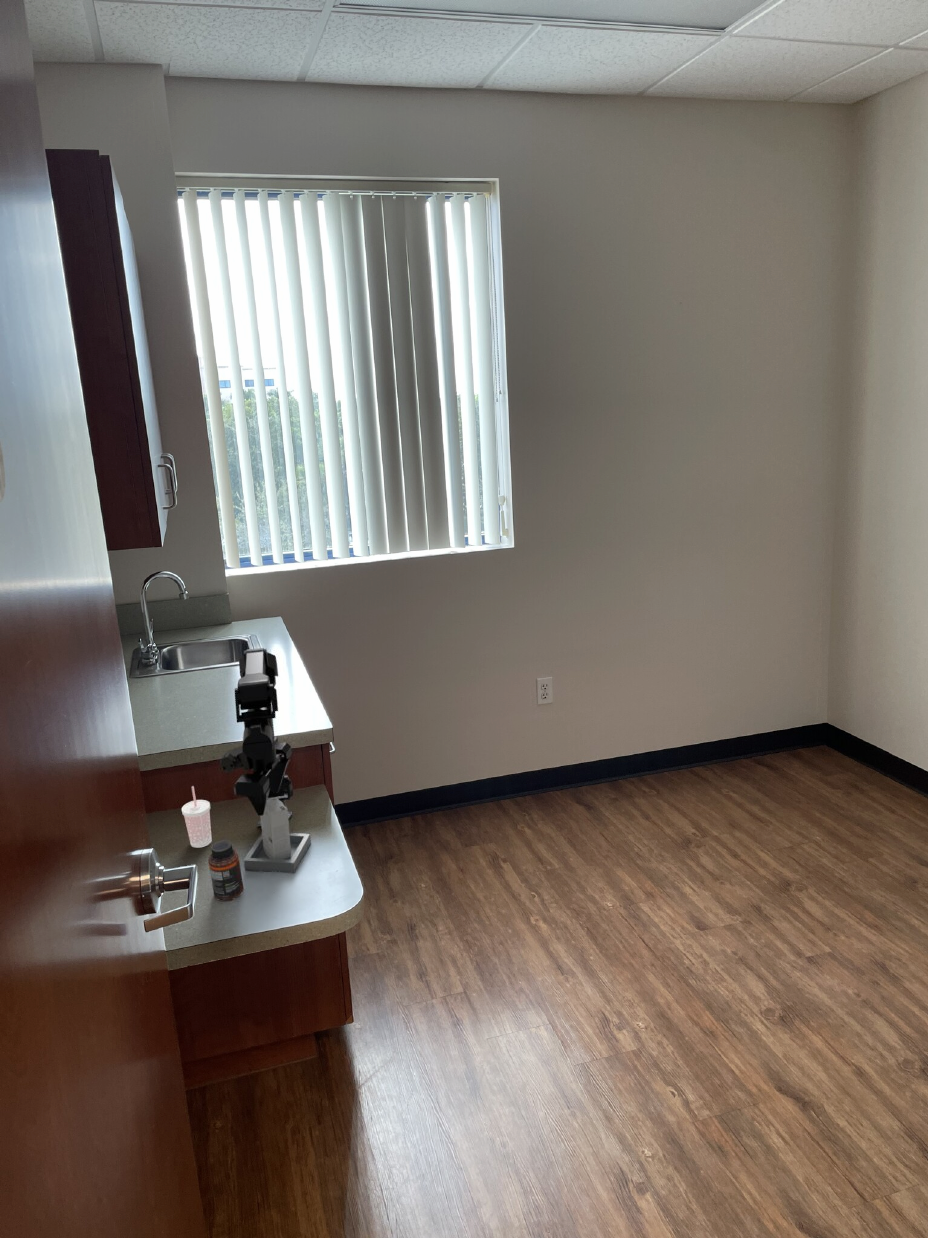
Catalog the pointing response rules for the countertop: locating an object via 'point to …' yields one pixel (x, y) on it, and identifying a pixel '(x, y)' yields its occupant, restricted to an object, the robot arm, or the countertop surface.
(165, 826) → the countertop surface
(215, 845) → the supplement bottle
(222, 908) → the countertop surface
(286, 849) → the skincare box
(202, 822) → the beverage cup
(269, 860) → the tray
